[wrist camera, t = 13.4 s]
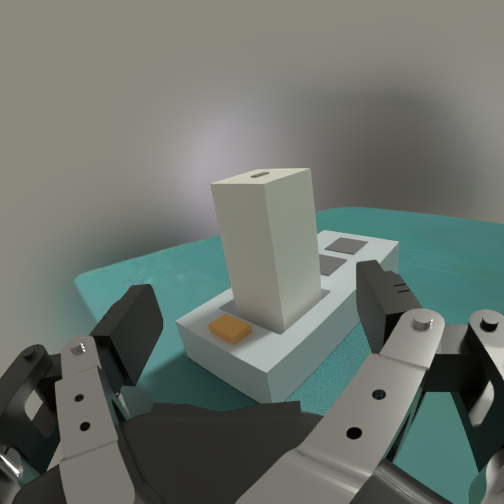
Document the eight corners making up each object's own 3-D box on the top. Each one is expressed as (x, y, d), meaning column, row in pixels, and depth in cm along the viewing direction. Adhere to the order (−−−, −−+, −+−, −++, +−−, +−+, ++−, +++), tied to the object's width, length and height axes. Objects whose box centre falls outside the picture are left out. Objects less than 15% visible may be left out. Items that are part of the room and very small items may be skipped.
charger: (279, 310, 27) (257, 167, 22) (323, 324, 24) (309, 166, 19) (242, 337, 24) (209, 182, 19) (287, 358, 21) (263, 181, 16)
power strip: (326, 258, 36) (323, 225, 34) (397, 273, 30) (399, 236, 28) (187, 356, 23) (172, 314, 22) (273, 411, 17) (264, 365, 16)
